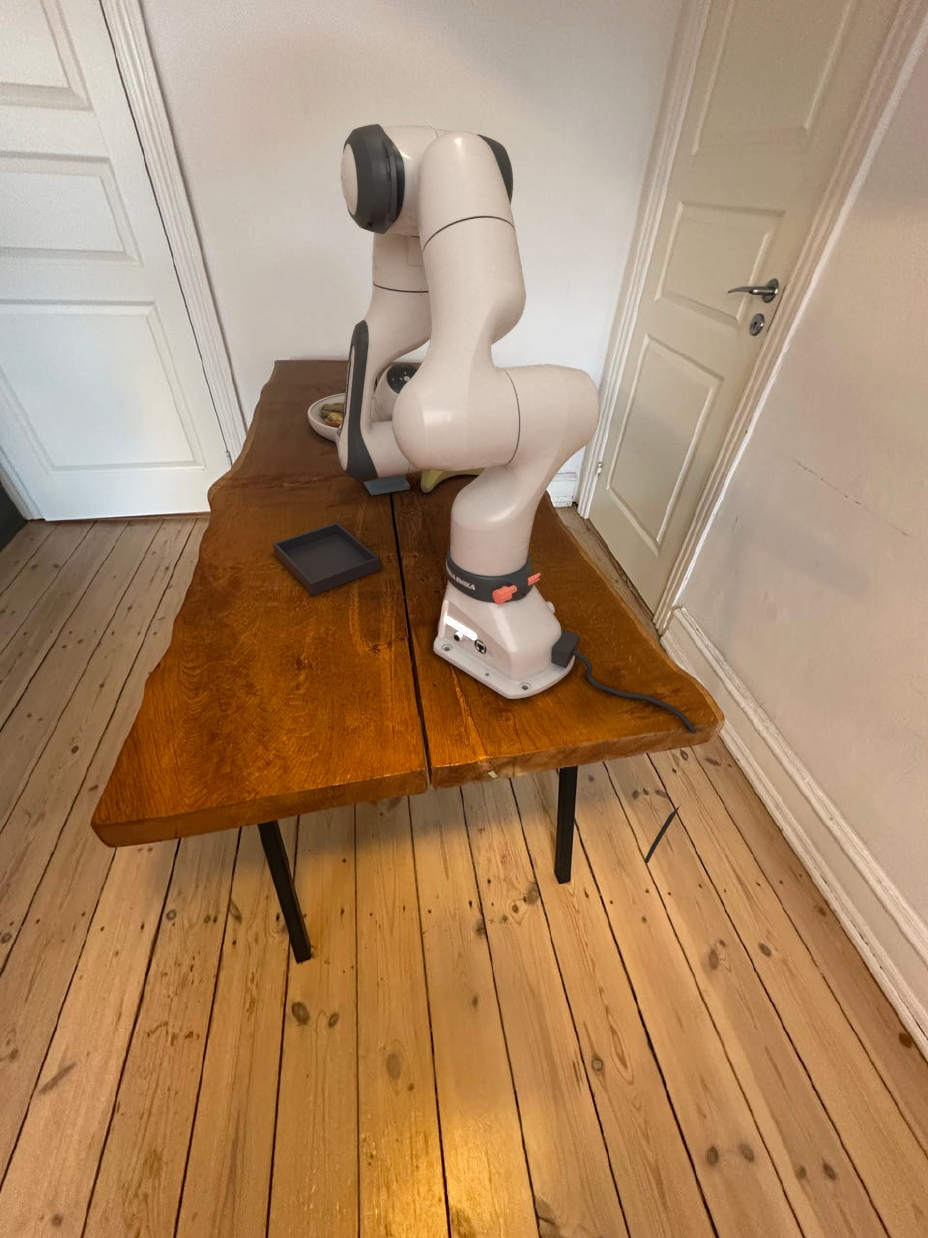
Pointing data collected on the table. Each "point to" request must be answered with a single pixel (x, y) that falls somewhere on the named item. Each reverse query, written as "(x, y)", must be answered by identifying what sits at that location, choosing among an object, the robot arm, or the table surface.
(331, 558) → the tray
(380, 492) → the holder
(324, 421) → the bowl
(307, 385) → the table surface
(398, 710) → the table surface
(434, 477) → the banana
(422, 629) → the table surface
